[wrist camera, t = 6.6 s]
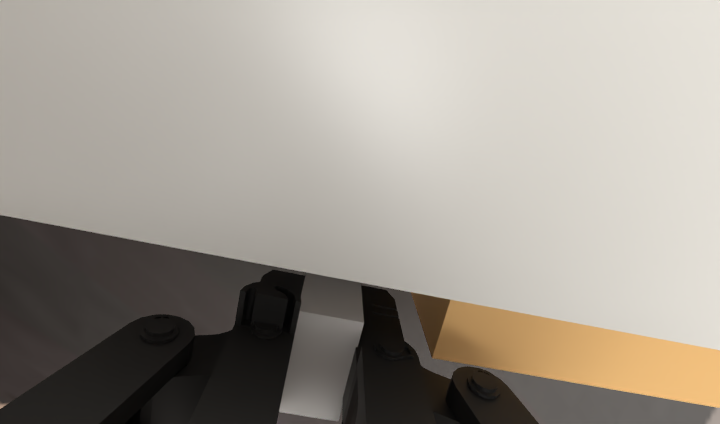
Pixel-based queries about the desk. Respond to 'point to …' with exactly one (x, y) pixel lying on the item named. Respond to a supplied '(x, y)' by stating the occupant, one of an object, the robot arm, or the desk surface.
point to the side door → (568, 351)
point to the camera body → (388, 143)
